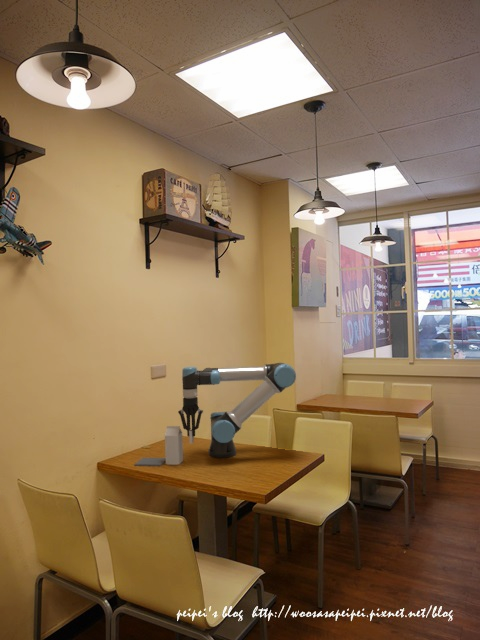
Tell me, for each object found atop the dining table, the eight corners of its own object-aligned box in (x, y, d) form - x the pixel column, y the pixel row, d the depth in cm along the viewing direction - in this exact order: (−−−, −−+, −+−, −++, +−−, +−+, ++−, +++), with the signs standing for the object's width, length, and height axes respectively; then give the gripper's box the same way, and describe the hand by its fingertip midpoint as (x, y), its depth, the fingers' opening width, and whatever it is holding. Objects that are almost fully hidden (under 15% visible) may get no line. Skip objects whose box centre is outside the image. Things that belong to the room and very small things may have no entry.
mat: (167, 459, 246) (167, 457, 246) (160, 466, 234) (160, 464, 234) (142, 459, 248) (142, 457, 248) (134, 465, 236) (134, 464, 236)
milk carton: (178, 465, 235) (177, 427, 235) (165, 464, 236) (164, 427, 237) (183, 461, 242) (182, 424, 242) (170, 460, 243) (169, 424, 244)
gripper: (204, 395, 241) (205, 441, 240) (180, 396, 243) (181, 440, 242) (200, 398, 233) (202, 444, 233) (175, 398, 235) (177, 444, 235)
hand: (191, 442), depth 238 cm, fingers closed
